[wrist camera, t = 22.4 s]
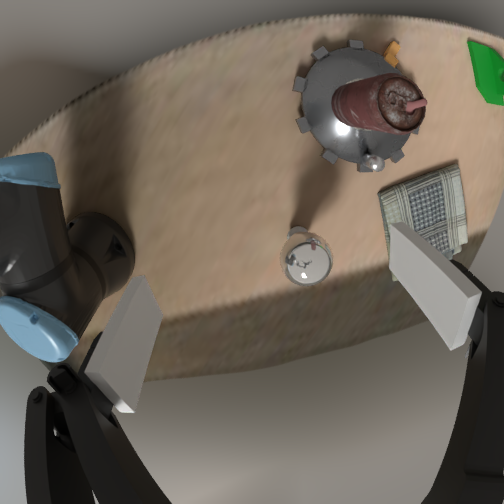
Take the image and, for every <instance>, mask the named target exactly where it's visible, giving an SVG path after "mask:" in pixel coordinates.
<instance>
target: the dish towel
mask: <svg viewBox="0 0 504 504" xmlns="http://www.w3.org/2000/svg"><path fill="white" fill-rule="evenodd" d="M378 197H379V201H380V207H381V213H382V218H383V224H384V231H385V238H386V243H387V250H388V256H389V264H390V224H393V223H397V222H402V221H403V222H404V223H405V224H406V225H408V226H409V227H410V228H411V229H413V230H414V231H415V232H416V233H418V234H419V235H420V236H421V237H422V238H424V239H425V240H426V241H427V242H428V243H430V244H431V245H432V246H433V247H434V248H435V249H437V250H438V251H439V252H440V253H441V254H442V255H443V256H444V257H446V258H447V259H448V260H451V259H452V257H453V255H454V254H456V253H458V252H460V251H461V244H464V243H467V242H468V238H467V223H466V213H465V203H464V197H463V190H462V184H461V178H460V169H459V167H458V165H457V164H453V165H451V166H448V167H445V168H442V169H439V170H436V171H433V172H430V173H427V174H425V175H423V176H420V177H417V178H414V179H411V180H409V181H406V182H403V183H400V184H398V185H395V186H392V187H390V188H388V189H386V190H383V191H381V192H379V193H378ZM391 274H392V279H393V281H397V280H398V279H397V277H396V276H395V275H394V274H393V273H392V271H391Z"/></svg>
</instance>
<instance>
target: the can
mask: <svg viewBox="0 0 504 504" xmlns="http://www.w3.org/2000/svg"><path fill="white" fill-rule="evenodd" d="M331 105H332V110H333V113H334V115H335V116H336V118H337V119H338V120H339V121H340V122H342V123H343V124H345V125H347V126H350V127H356V128H362V129H369V130H375V131H380V132H386V133H391V134H396V135H405V134H408V133H410V132H413V131H414V130H415V129H417V128H418V127H419V126H420V125H421V123H422V121H423V119H424V117H425V111H426V105H427V100H426V99H425V98H424V97H423V94H422V92H421V90H420V89H419V88H418V86H417V85H416V84H415V83H414V82H413V81H411V80H410V79H408V78H407V77H405V76H403V75H400V74H398V73H387V74H382V75H378V76H374V77H370V78H366V79H362V80H359V81H355V82H351V83H348V84H345V85H342V86H340V87H339V88H338V89H336V90H335V92H334V94H333V96H332V100H331Z"/></svg>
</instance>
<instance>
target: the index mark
mask: <svg viewBox="0 0 504 504" xmlns="http://www.w3.org/2000/svg"><path fill="white" fill-rule="evenodd" d="M399 49H400V46H399V45H398V44H397V43H396V42H394V41H393V42H391V43H390V45H389V46H388V48H387V49H386V51H385V53H388V52H389V53H390V54H391V55H393V56H394V57H395V56H396V54H397V52H398V51H399ZM385 53H384V54H385ZM384 54H383V55H384Z"/></svg>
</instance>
